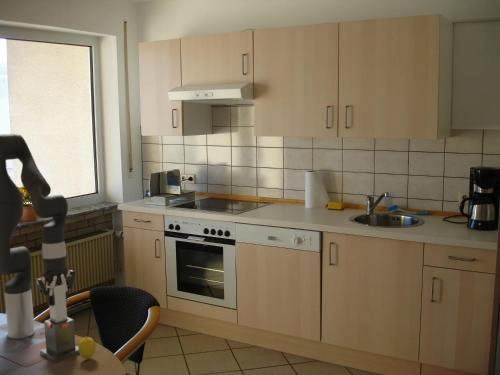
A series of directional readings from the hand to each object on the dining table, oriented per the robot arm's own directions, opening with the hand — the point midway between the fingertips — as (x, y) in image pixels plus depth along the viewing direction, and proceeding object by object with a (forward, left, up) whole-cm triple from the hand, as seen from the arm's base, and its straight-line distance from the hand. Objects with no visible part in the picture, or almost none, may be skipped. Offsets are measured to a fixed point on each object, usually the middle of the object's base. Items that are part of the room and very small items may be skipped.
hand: (57, 303), depth 185 cm
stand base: (0, 0, -18) cm, 18 cm away
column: (0, 0, -12) cm, 12 cm away
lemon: (+11, +4, -18) cm, 22 cm away
